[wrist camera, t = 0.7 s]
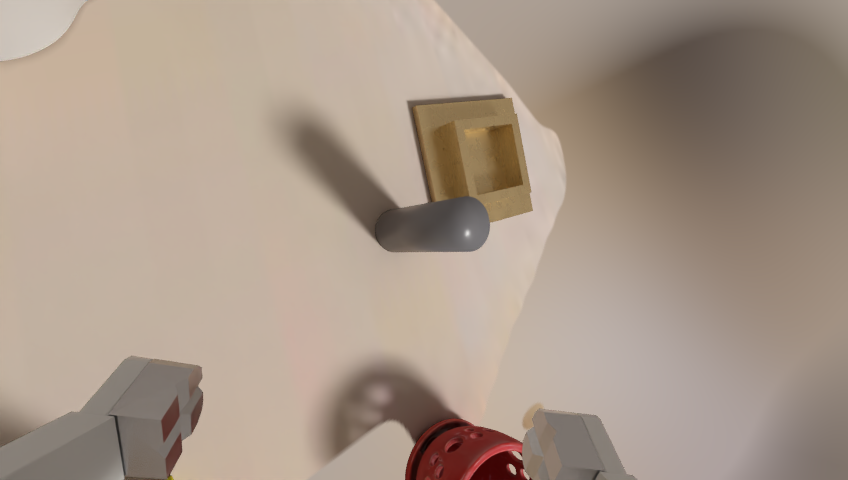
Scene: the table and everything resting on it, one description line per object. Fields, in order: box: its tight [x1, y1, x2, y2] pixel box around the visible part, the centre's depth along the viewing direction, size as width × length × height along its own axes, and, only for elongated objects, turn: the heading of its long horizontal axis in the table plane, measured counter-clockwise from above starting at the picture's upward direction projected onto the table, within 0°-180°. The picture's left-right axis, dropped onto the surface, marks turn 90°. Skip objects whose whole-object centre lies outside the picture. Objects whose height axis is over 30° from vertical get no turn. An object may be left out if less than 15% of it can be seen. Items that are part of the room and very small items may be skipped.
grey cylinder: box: [375, 196, 490, 252], centre depth 45 cm, size 5×5×14 cm
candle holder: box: [412, 98, 533, 223], centre depth 56 cm, size 16×16×4 cm
